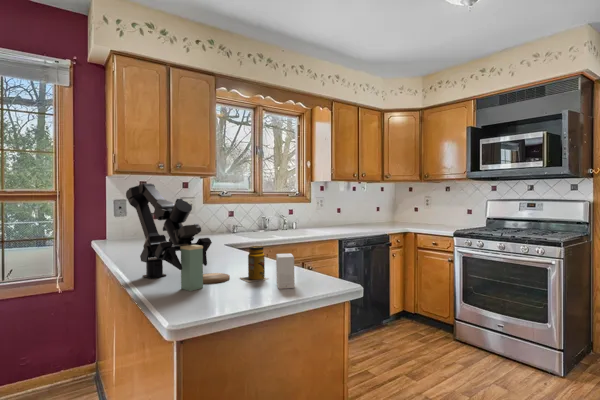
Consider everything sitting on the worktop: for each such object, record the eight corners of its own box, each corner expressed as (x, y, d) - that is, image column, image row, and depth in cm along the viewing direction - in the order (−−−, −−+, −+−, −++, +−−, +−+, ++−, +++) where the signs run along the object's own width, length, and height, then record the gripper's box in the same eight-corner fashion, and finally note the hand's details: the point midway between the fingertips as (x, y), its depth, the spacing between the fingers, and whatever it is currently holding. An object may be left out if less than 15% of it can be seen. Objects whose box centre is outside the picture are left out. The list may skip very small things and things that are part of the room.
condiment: (269, 279, 132) (268, 246, 132) (248, 282, 128) (247, 248, 128) (259, 275, 138) (259, 244, 138) (239, 278, 134) (239, 246, 134)
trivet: (186, 280, 132) (186, 277, 132) (214, 274, 142) (214, 271, 142) (208, 285, 124) (208, 282, 124) (237, 278, 134) (236, 275, 134)
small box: (294, 288, 119) (294, 256, 119) (277, 289, 118) (277, 257, 118) (292, 282, 127) (292, 253, 127) (276, 283, 126) (276, 253, 126)
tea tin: (180, 288, 120) (180, 246, 120) (194, 285, 124) (193, 244, 124) (190, 291, 116) (189, 247, 116) (203, 287, 121) (202, 245, 120)
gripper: (158, 217, 116) (176, 255, 108) (208, 215, 130) (227, 248, 122) (147, 240, 121) (164, 277, 114) (196, 235, 135) (214, 268, 128)
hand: (194, 267), depth 119 cm, fingers open, 9 cm apart
